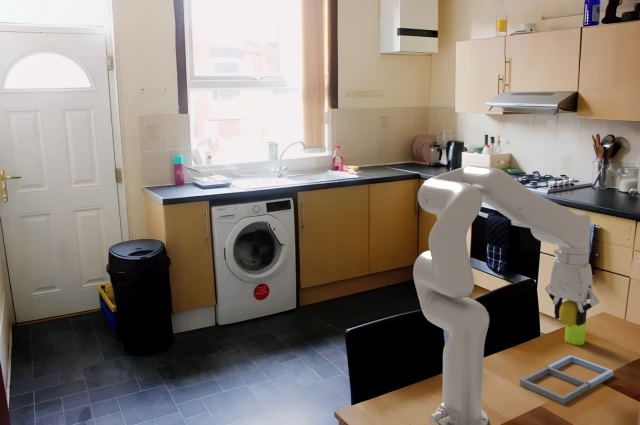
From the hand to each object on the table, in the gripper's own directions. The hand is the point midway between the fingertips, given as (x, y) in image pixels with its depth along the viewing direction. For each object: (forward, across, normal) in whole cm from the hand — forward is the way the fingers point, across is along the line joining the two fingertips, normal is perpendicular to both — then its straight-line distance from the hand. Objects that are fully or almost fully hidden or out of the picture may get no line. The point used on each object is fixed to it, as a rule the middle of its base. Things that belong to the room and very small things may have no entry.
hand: (569, 320), depth 153 cm
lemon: (+2, 0, 0) cm, 2 cm away
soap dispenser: (+19, -13, +26) cm, 34 cm away
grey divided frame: (+18, 0, 0) cm, 18 cm away
